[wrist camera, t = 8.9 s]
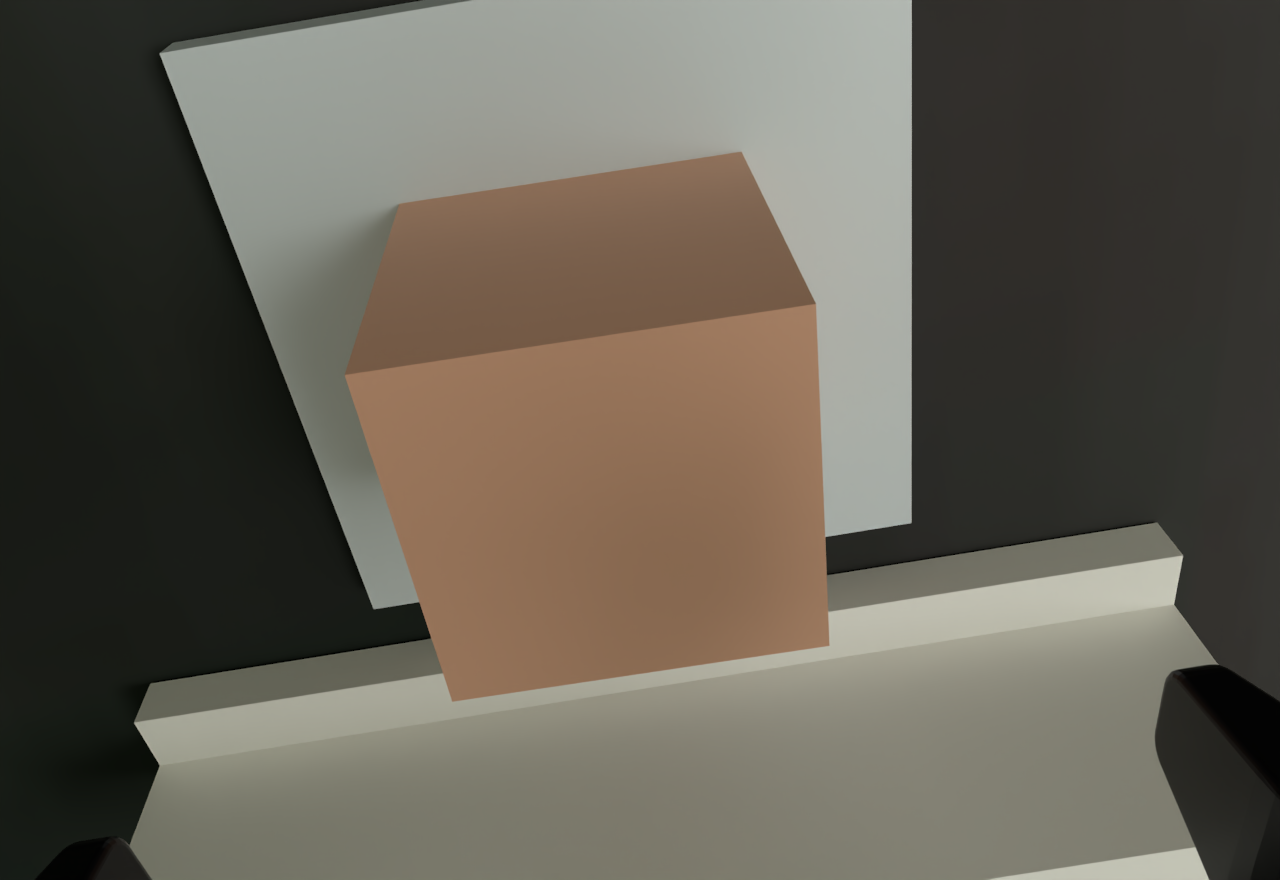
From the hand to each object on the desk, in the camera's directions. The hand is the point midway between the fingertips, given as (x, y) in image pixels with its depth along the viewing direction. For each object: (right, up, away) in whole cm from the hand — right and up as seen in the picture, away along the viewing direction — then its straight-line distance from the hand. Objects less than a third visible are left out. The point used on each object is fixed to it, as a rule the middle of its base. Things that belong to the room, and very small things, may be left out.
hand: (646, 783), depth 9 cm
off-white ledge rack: (0, -2, +13) cm, 13 cm away
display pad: (-1, +5, +8) cm, 10 cm away
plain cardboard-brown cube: (-1, +5, +8) cm, 9 cm away
